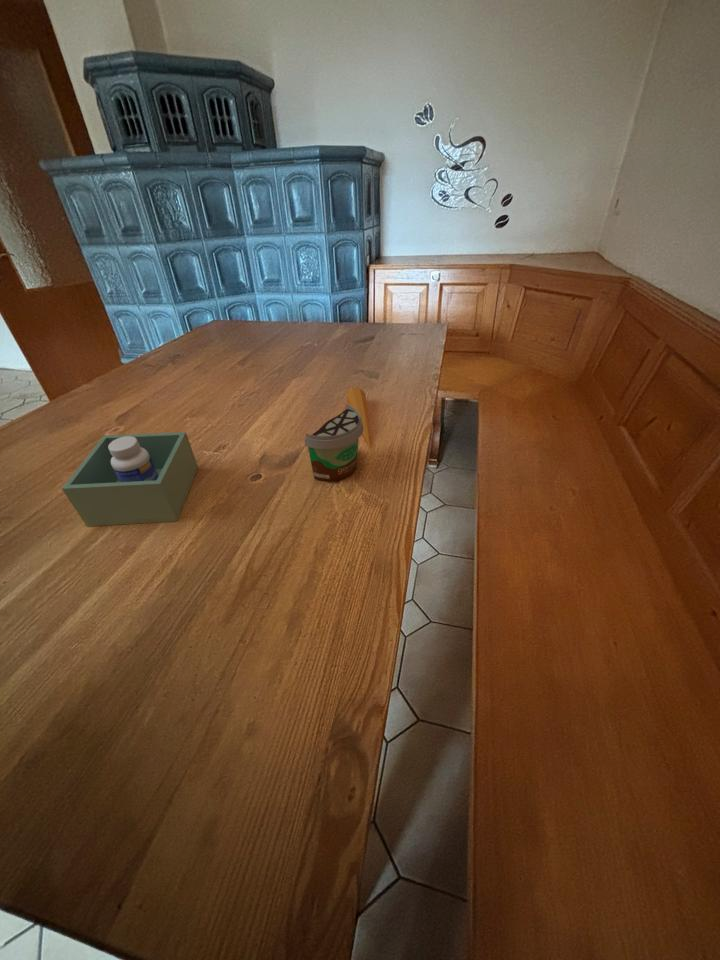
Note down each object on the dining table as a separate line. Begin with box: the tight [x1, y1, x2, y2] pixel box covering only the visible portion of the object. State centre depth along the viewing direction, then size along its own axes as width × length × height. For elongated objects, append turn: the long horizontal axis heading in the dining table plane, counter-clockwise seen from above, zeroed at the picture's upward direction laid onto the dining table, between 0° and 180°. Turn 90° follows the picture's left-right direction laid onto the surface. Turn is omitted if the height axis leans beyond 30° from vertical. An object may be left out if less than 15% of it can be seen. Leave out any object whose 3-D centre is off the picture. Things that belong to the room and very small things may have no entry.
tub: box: [61, 431, 199, 527], centre depth 62 cm, size 14×14×8 cm
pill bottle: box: [108, 436, 159, 482], centre depth 61 cm, size 5×5×10 cm
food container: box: [304, 403, 363, 483], centre depth 66 cm, size 12×6×10 cm, turn 147°
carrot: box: [346, 386, 372, 450], centre depth 81 cm, size 20×4×4 cm, turn 9°
